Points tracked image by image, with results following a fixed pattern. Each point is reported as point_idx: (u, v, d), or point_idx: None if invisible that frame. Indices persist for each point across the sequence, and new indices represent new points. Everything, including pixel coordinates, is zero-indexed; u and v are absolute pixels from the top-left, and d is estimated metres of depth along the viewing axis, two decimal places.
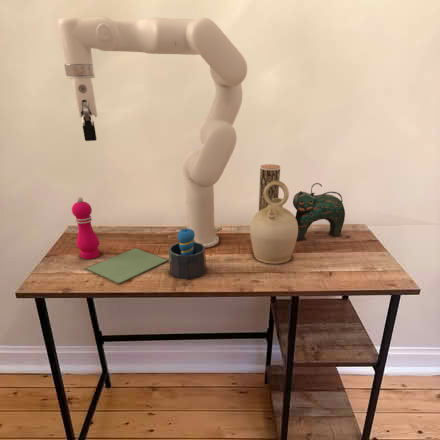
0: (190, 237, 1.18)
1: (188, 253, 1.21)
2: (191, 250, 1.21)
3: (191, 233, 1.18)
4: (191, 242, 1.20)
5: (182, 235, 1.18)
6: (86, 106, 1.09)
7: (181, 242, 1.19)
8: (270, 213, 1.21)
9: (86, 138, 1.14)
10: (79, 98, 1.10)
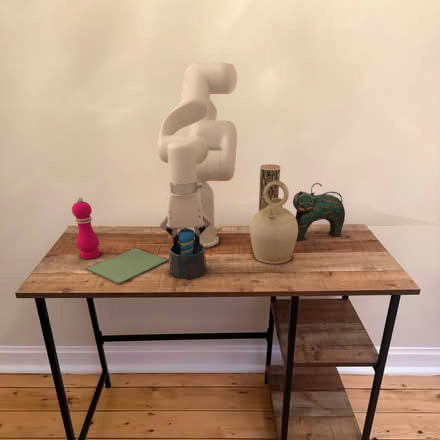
0: (190, 237, 1.18)
1: (188, 253, 1.21)
2: (191, 250, 1.21)
3: (191, 233, 1.18)
4: (191, 242, 1.20)
5: (182, 235, 1.18)
6: (207, 218, 1.18)
7: (181, 242, 1.19)
8: (270, 213, 1.21)
9: (197, 246, 1.21)
10: None
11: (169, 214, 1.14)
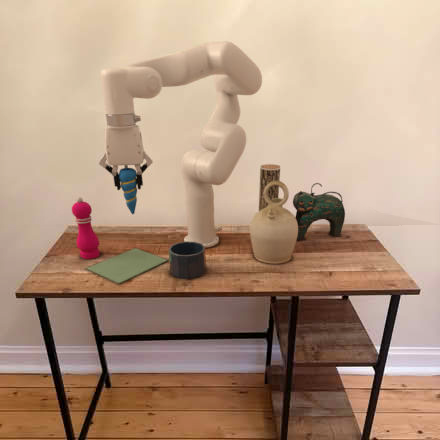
0: (131, 175, 1.13)
1: (130, 194, 1.16)
2: (133, 191, 1.16)
3: (132, 172, 1.13)
4: (133, 181, 1.14)
5: (122, 173, 1.13)
6: (148, 156, 1.13)
7: (122, 181, 1.14)
8: (270, 213, 1.21)
9: (140, 186, 1.16)
10: (141, 145, 1.10)
11: (107, 149, 1.09)
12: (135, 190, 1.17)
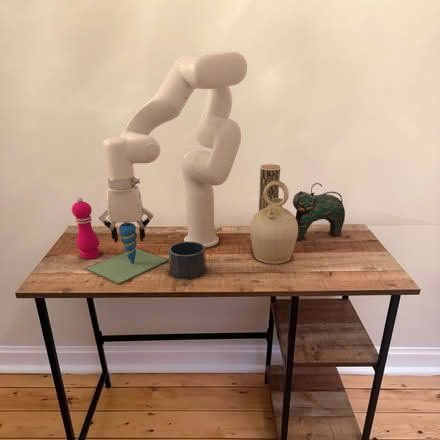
0: (130, 231, 1.22)
1: (130, 246, 1.25)
2: (133, 244, 1.25)
3: (131, 227, 1.22)
4: (132, 236, 1.23)
5: (122, 228, 1.21)
6: (148, 211, 1.22)
7: (122, 236, 1.23)
8: (270, 213, 1.21)
9: (142, 239, 1.25)
10: (140, 205, 1.19)
11: (108, 209, 1.18)
12: (134, 243, 1.25)
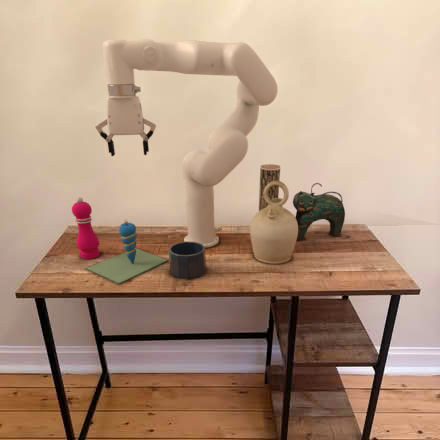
0: (131, 231, 1.22)
1: (130, 246, 1.25)
2: (133, 244, 1.25)
3: (131, 227, 1.22)
4: (132, 236, 1.23)
5: (123, 228, 1.21)
6: None
7: (122, 236, 1.23)
8: (270, 213, 1.21)
9: (146, 152, 1.21)
10: (141, 115, 1.16)
11: (108, 119, 1.15)
12: (134, 243, 1.25)
